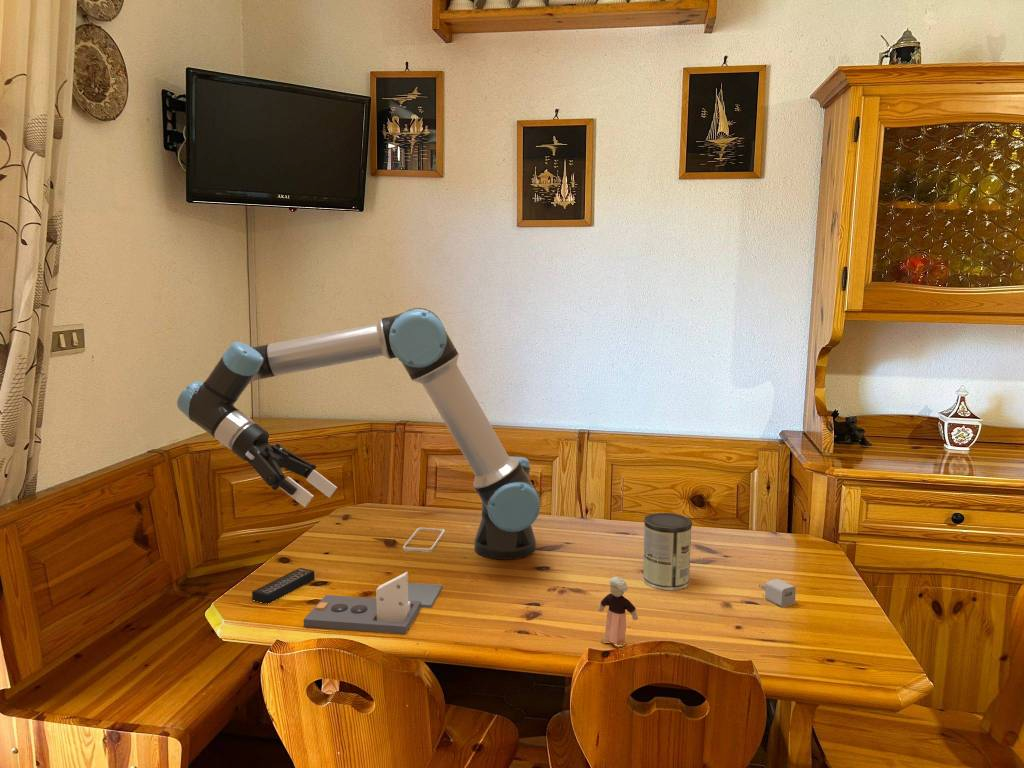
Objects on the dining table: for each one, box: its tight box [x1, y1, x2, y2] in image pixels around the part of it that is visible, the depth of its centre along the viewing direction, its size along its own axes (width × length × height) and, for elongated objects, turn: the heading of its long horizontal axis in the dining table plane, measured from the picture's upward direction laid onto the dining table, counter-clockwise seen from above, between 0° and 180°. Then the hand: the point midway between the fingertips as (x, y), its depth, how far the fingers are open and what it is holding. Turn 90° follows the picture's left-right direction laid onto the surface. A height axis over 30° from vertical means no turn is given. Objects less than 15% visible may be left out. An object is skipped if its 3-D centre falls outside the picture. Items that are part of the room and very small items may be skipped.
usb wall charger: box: [758, 578, 797, 608], centre depth 152 cm, size 4×7×4 cm, turn 27°
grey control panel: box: [303, 594, 422, 635], centre depth 142 cm, size 20×11×2 cm, turn 82°
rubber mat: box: [408, 582, 444, 609], centre depth 152 cm, size 12×10×1 cm
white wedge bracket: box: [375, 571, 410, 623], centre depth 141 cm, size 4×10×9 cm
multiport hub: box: [251, 567, 316, 605], centre depth 155 cm, size 4×14×2 cm, turn 154°
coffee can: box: [642, 512, 693, 591], centre depth 160 cm, size 10×10×14 cm
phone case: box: [402, 527, 446, 553], centre depth 184 cm, size 7×1×15 cm
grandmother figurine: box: [597, 576, 639, 648], centre depth 132 cm, size 8×4×13 cm, turn 69°
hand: (322, 497), depth 151 cm, fingers open, 13 cm apart
